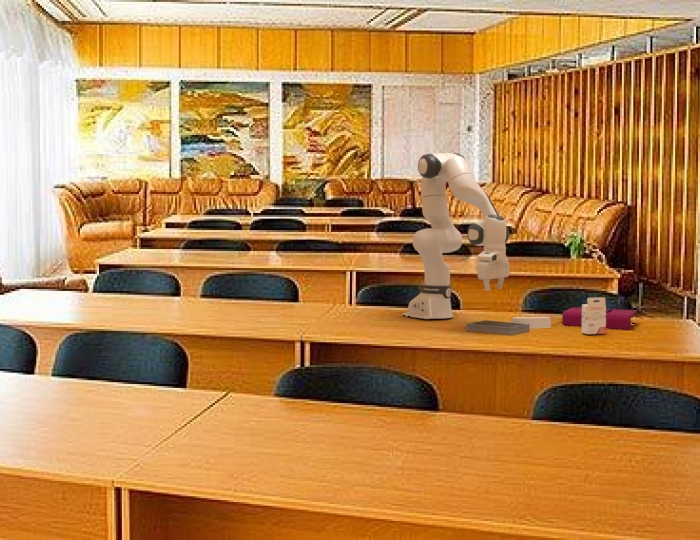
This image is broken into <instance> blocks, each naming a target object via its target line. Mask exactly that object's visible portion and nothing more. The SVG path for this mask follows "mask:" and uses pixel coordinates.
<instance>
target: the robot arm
mask: <svg viewBox="0 0 700 540" xmlns="http://www.w3.org/2000/svg"><path fill="white" fill-rule="evenodd" d="M417 170H418V173H419V174H420V176H421V184H420V197H421V207H422V208H421V211H422V216H423V217H424V218H425V219H427V221H428V222H429V223H430V226H431V228H428V227H427V228H423V229H420V230H417V231H416V232H414V234H413V237H412V246H413V248H414V250H415V251H417V252H418V254H419V255H420V257H421V261H422V263H423V267H424V268H423V269H424V284H423V285H421V286H419V290H421V291H420V293H419V294H418V295H417V296H415V297H414V298H413V299H411V300H410V301H409V303H408V307H407V312H404V313H403V312H402V316H403V315H405V316H404V317H408V316H410V318H418V319H424V320H429V319H431V320H432V319H450V318H454V315H453V310H452V304H451V295H452V291H451V290H452V285H451V268H450V265H449V264H447V262H445V260H444V257H443V254H446V253H448V254H449V253H453V252H455V251H458V250H459V249H460V248H461V247H462V245H463V236H462V234H461V232H460V231H459V230H458V229H457V228H456V227H455V225H454V223H453V221H452V219H451V217H450V216H451V215H450V212H449V207H448V205H449V204H448V198H447V187H446V184H448V187H449V189H450V191H451V194H452V195H453V196H454V198H455V199H456V200H459V201H461V202H464V203H466V204H469V205H472V206H474V207H476V208H477V209H478V211H480V212H481V214H482V216H483V219H481V220H480V221H476V222H474V223H471V224H470V226H468V229H467V236H466V237H467V240H468V242H469V243H470V244H471V245H472V246H475V247H476V246H477V247H482V246H483V250H482V251H481V252H480V253H479V254H478V255H477V257H476V260H477V269H476V271H477V278H478V280H482V281H483V286H484V291H486V292H487V291H491V287H492V286H491V285H490V281H491V280H493V279H497V280H498V281H497V283H496V289H498V290H500V289H502V288H503V283H504V280H505V278H508V277H509V276H510V274H511V273H510V269H511V267H510V261H509V257H508V256H507V255H506V252H507V251H506V250H507V247H506V243H507V242H508V241H509V238H510V230H509V227H508V226H507V223H506V218H504V217H503V216H501V215H500V214H499V212H498V210H497V208H496V207H495V205H494V204H493V202H492V199H491V198H490V196H489V194H488V193H487V192H486V191H485V190H484V189H483V188H482V187H481V186H480V185H479V184H478V182H477V180H476V178H475V176H474V173H473V171H472V169H471V167H470V165H469V163H468V162H467V160H466V157H465V156H464V155H463V154H460V153H457V152H453V153H452V152H438V153H427V154H423V155H422V156H420V158H419V160H418V162H417Z"/></svg>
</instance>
